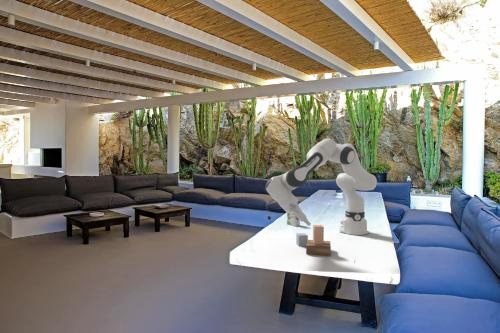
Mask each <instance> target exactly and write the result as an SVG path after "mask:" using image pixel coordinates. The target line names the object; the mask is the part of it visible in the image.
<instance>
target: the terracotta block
mask: <svg viewBox="0 0 500 333" xmlns="http://www.w3.org/2000/svg"><path fill="white" fill-rule="evenodd" d="M324 228H325V227H324V225H322V224H313V225H312V240H313V243H314V244H323V243H324V241H325V240H324V236H325V234H324V230H325V229H324Z"/></svg>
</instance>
